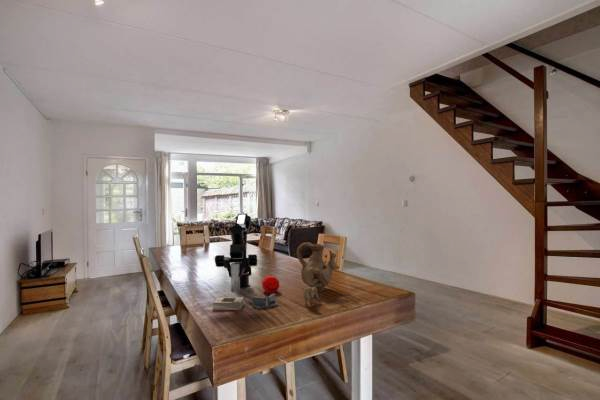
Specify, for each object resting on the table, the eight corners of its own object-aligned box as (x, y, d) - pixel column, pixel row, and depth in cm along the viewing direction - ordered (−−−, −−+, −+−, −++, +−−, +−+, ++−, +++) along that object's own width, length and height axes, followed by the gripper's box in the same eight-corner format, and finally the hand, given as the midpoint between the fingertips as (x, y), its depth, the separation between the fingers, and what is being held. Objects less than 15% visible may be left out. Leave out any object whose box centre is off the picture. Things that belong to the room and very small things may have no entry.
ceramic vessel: (317, 297, 148) (317, 245, 148) (290, 289, 161) (290, 242, 162) (340, 289, 161) (340, 242, 162) (313, 283, 174) (313, 239, 175)
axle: (235, 289, 137) (235, 262, 138) (241, 290, 135) (241, 263, 135) (228, 291, 134) (228, 263, 134) (234, 292, 132) (234, 265, 132)
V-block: (248, 302, 140) (248, 293, 140) (270, 299, 145) (270, 290, 145) (255, 309, 131) (255, 299, 131) (279, 305, 136) (279, 296, 136)
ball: (264, 294, 152) (264, 279, 153) (261, 290, 160) (261, 275, 160) (280, 293, 155) (280, 278, 155) (276, 289, 162) (276, 274, 163)
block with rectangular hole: (217, 304, 138) (217, 297, 138) (243, 303, 138) (243, 297, 138) (212, 309, 131) (212, 302, 131) (240, 309, 131) (240, 302, 131)
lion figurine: (313, 309, 131) (313, 288, 131) (301, 308, 132) (301, 287, 132) (320, 299, 145) (320, 280, 145) (309, 298, 146) (309, 279, 146)
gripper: (215, 237, 138) (210, 266, 127) (257, 236, 140) (255, 265, 129) (218, 252, 146) (214, 281, 135) (257, 251, 147) (256, 280, 136)
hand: (234, 276), depth 133 cm, fingers closed on axle, 4 cm apart
